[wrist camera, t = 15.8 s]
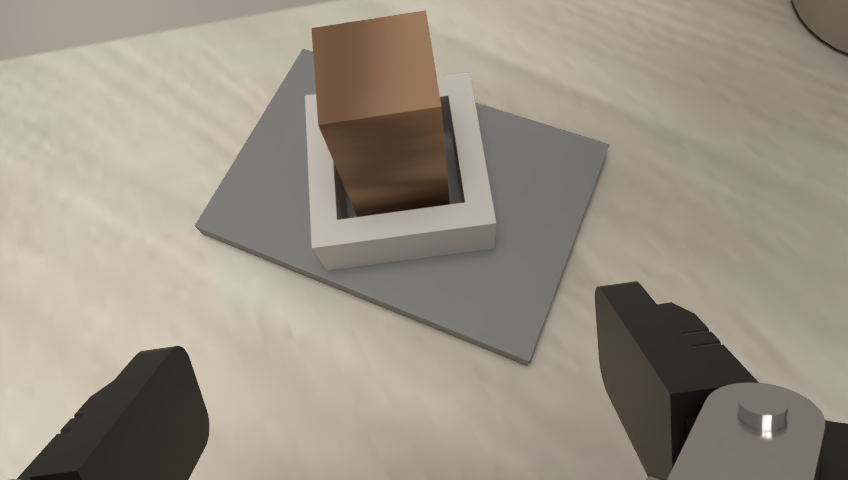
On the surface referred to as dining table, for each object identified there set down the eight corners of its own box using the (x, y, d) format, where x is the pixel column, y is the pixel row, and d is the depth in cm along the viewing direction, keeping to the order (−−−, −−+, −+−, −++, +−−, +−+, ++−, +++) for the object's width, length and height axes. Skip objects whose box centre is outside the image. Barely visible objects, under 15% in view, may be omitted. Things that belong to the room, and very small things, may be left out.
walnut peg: (439, 142, 32) (425, 10, 23) (450, 218, 30) (441, 106, 21) (356, 155, 32) (311, 28, 23) (363, 231, 30) (318, 124, 21)
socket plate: (605, 154, 32) (622, 110, 28) (527, 365, 28) (535, 346, 24) (307, 60, 36) (288, 10, 32) (202, 233, 32) (167, 200, 28)
